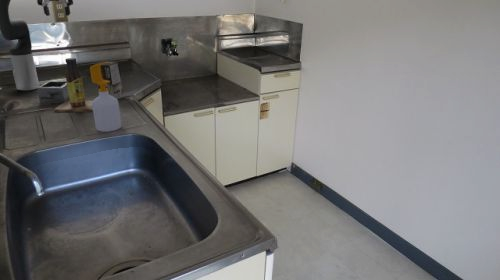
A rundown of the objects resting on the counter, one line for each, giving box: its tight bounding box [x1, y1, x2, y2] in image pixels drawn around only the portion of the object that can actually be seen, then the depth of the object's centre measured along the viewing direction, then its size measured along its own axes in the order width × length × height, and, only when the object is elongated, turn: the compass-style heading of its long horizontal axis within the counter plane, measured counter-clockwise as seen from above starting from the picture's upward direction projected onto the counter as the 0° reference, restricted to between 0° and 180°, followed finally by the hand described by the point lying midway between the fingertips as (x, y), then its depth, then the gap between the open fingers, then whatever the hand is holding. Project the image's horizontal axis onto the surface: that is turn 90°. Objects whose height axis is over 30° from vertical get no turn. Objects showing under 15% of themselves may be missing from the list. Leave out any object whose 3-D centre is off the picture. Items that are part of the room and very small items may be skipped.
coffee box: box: [94, 60, 125, 100], centre depth 176 cm, size 9×6×16 cm
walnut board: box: [54, 100, 93, 113], centre depth 165 cm, size 16×12×1 cm
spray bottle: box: [89, 61, 122, 133], centre depth 139 cm, size 9×9×25 cm
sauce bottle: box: [65, 57, 86, 106], centre depth 161 cm, size 6×6×20 cm
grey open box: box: [36, 80, 69, 104], centre depth 173 cm, size 11×16×7 cm
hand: (57, 15), depth 168 cm, fingers open, 8 cm apart
